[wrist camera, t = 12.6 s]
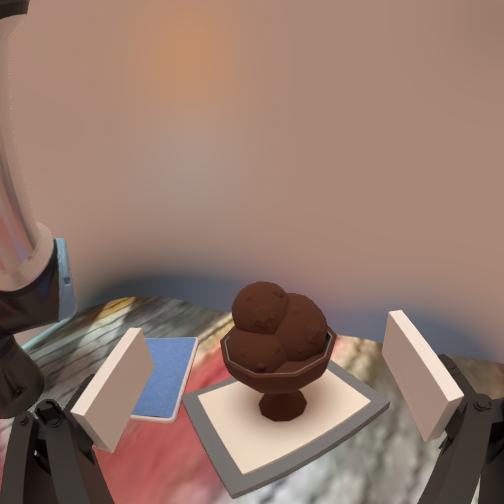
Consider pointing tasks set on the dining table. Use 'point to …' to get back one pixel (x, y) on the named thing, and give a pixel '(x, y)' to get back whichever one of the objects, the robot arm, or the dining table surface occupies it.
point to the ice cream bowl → (277, 347)
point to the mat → (292, 462)
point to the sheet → (277, 433)
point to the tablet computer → (166, 379)
